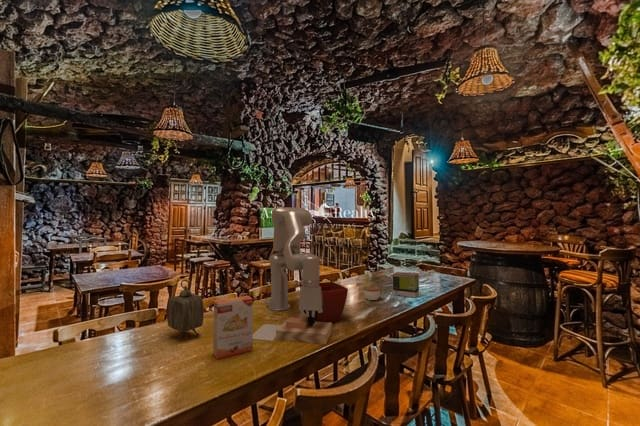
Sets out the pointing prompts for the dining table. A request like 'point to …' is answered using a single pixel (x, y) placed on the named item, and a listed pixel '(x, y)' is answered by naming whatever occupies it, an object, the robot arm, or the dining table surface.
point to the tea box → (406, 284)
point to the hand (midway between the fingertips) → (311, 324)
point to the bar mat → (266, 332)
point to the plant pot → (331, 302)
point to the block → (297, 323)
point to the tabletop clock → (185, 311)
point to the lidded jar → (372, 292)
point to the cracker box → (233, 326)
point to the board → (306, 333)
